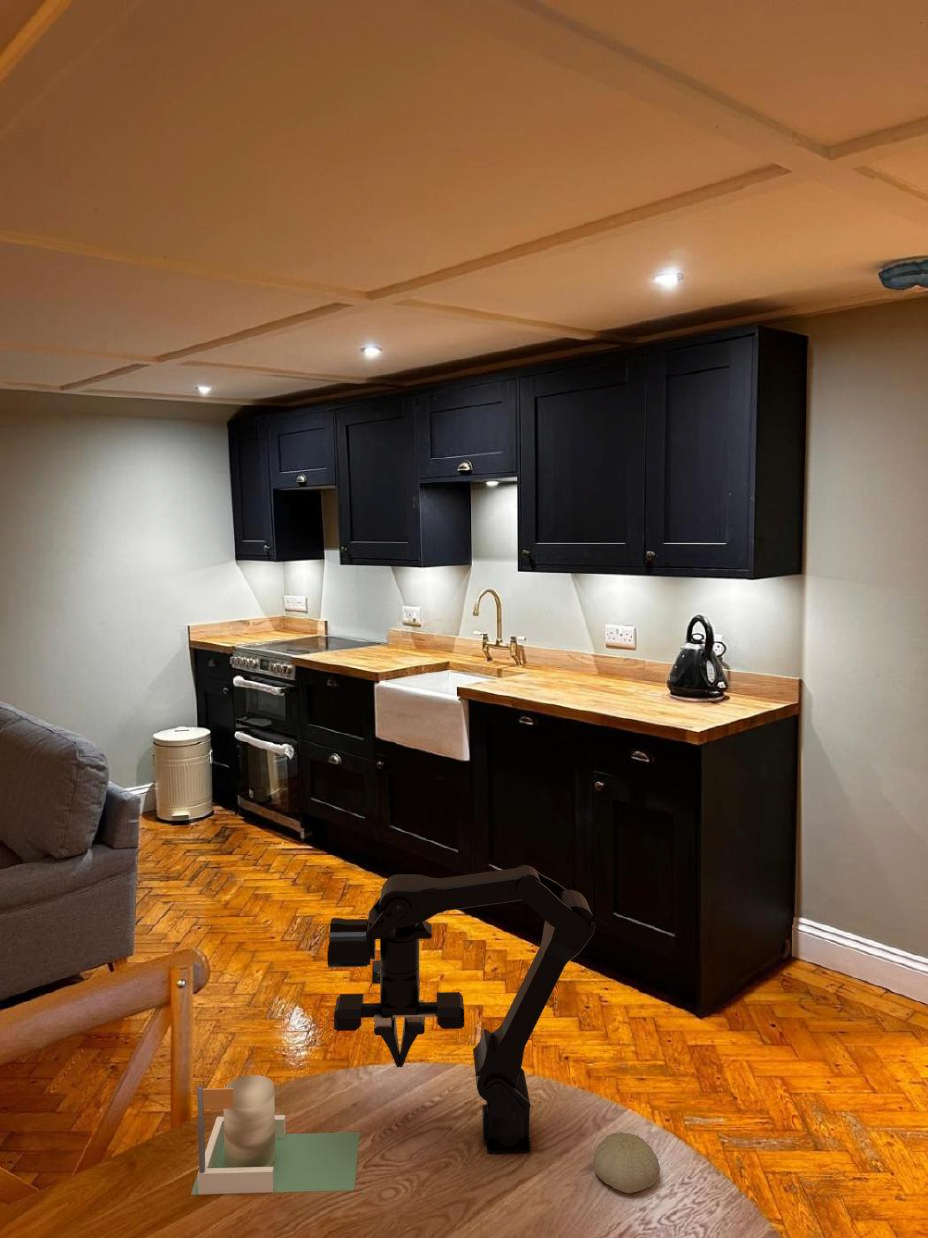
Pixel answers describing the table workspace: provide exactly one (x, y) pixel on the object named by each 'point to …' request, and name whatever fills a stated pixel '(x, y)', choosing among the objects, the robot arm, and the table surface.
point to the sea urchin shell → (626, 1162)
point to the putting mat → (310, 1162)
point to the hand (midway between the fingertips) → (399, 1065)
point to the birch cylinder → (250, 1123)
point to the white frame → (213, 1177)
